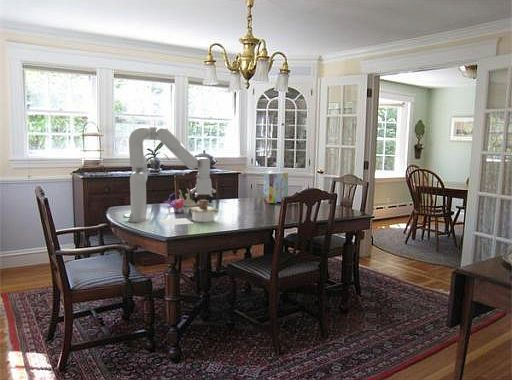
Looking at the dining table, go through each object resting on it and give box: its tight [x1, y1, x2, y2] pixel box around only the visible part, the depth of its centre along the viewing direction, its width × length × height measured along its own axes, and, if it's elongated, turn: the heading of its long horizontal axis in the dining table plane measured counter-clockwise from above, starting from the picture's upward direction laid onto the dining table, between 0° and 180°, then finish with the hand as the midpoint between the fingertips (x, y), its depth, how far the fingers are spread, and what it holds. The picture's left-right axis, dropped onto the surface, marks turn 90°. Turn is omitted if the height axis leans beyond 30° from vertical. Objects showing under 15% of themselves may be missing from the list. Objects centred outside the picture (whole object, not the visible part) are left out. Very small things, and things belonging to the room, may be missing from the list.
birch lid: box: [188, 199, 219, 213], centre depth 279 cm, size 15×15×6 cm
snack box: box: [262, 171, 289, 204], centre depth 366 cm, size 22×9×26 cm, turn 130°
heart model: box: [163, 192, 185, 214], centre depth 307 cm, size 15×9×18 cm
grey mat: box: [159, 217, 195, 226], centre depth 272 cm, size 18×18×1 cm
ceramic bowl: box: [191, 210, 215, 223], centre depth 280 cm, size 13×13×7 cm
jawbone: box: [178, 187, 199, 208], centre depth 333 cm, size 25×10×14 cm, turn 52°
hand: (203, 202), depth 279 cm, fingers open, 9 cm apart
